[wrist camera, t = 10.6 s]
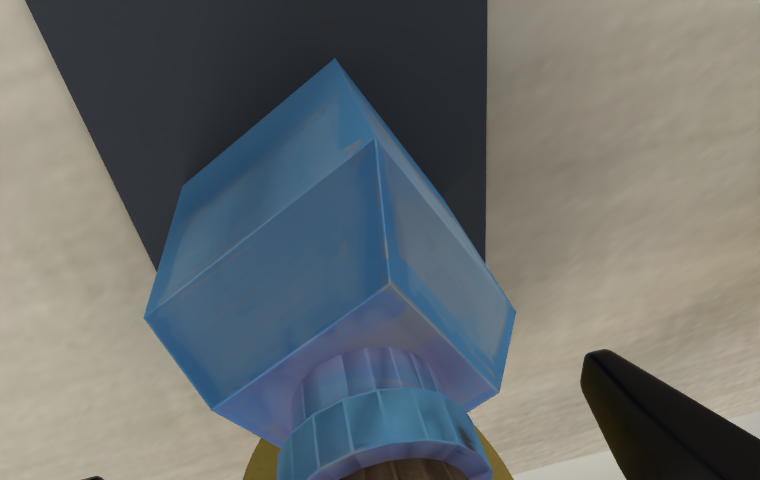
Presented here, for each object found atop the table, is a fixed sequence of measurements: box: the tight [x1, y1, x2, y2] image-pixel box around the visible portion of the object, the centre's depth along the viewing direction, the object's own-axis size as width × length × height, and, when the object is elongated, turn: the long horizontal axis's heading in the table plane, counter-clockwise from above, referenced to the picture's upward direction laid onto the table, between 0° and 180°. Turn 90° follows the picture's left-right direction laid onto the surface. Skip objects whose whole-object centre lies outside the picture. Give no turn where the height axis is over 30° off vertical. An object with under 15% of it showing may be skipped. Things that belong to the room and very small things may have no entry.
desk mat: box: [25, 0, 487, 271], centre depth 14 cm, size 12×20×1 cm, turn 7°
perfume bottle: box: [144, 58, 516, 480], centre depth 12 cm, size 6×6×12 cm
